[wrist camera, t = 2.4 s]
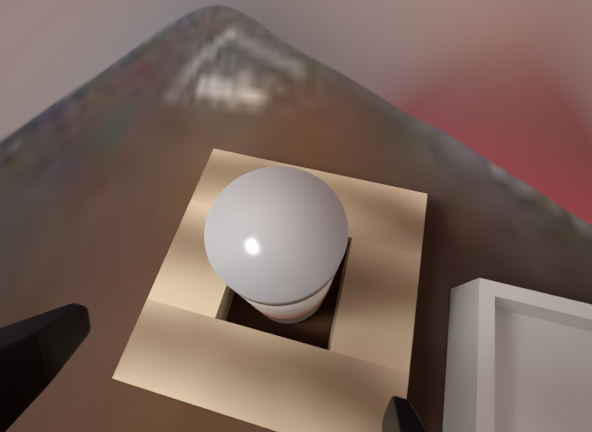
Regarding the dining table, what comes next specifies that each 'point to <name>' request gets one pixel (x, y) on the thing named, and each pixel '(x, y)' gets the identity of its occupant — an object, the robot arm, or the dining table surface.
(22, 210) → the dining table surface
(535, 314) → the tray
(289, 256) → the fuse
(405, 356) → the socket block
